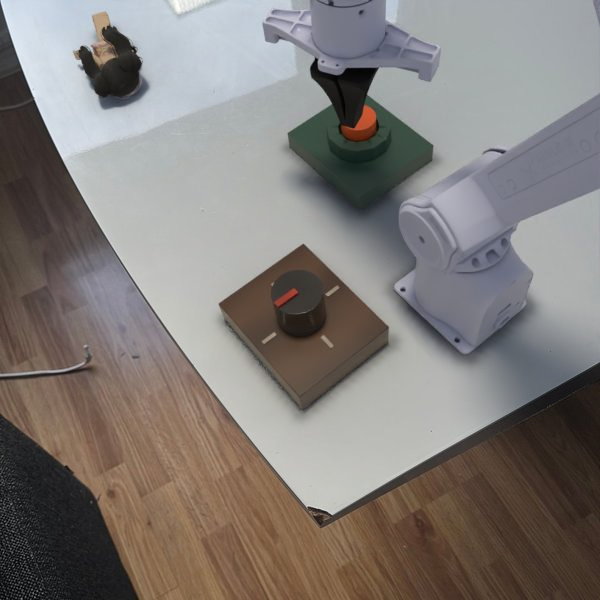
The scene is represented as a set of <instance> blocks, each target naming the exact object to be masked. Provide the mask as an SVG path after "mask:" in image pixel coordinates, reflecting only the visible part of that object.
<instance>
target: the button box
mask: <svg viewBox="0 0 600 600" xmlns="http://www.w3.org/2000/svg"><path fill="white" fill-rule="evenodd" d="M364 105H365V106H368V107H370V108H372V109H373V110H374V112H375V114H376V132H375V134H374V135H373V136H372V137H371V138H370V139H368V140H366V141H361V142H354V141H350V140H348V139H346V138H345V137H344V136H343V134H342V131H341V124H340V121H339V119H338V116H337V114H336V111H335V109H334V107H333V105H332V103H331V104H330V105H328V106H327V107H325V108H323V109H322V110H320V111H319V112H318V113H316V114H314V115H313V116H311V117H310V118H308V119H307V120H305V121H304V122H302V123H301V124H299V125H298V126H296V127H295V128H293V129H291V130H290V131H288V132H287V140H288V147H289V149H291V150H292V151H293V152H294V153H295V154H296V155H298V157H299V158H301V159H302V160H303V161H304V162H306V164H308V165H309V166H310V167H311V168H312V169H314V170H315V171H316V172H317V174H319V175H320V176H321V177H323V179H325V180H326V181H327V182H328V183H329V184H330V185H331V186H332V187H334V188H335V189H336V190H337V191H338V192H339V193H340V194H342V195H343V196H344V197H345V198H346V199H347V200H349V202H350V203H352V205H354V206H355V207H356V208H357V209H359V210H360V211H363V210H364V209H365V208H367V207H368V206H369V205H371V204H372V203H374V202H375V201H377V200H378V199H379V198H381V197H383V196H384V195H385V194H387V193H388V192H389V191H390V190H392V189H393V188H395V187H396V186H397V185H399V184H400V183H402V182H403V181H405V180H406V179H408V178H409V177H410V176H411V175H413V174H414V173H416V172H417V171H418V170H420V169H422V168H423V167H424V166H426V165H427V164H429V163H430V162H431V161H432V160H433V155H434V144H432V143H431V142H430V141H429V140H428V139H426V138H425V137H423V136H422V135H421V134H419V132H417V131H415V130H414V129H413V128H411V127H410V126H409V125H408V124H406V123H405V122H404V121H402V120H401V119H400V118H398V117H397V116H396V115H395V114H393V113H392V112H391V111H389V110H388V109H387V108H385V107H384V106H383V105H381V104H380V103H379V102H377V101H376V100H375V99H374V98H372V97H371V96H370V95H369V94H367V96H366V100H365V104H364Z"/></svg>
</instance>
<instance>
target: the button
mask: <svg viewBox="0 0 600 600" xmlns="http://www.w3.org/2000/svg"><path fill="white" fill-rule="evenodd" d="M341 131H342V134H343V136H344V137H345V138H346V139H348V140H350V141H354V142H361V141H366V140H368V139H370V138H371V137H372V136H373V135H374V134H375V132H376V114H375V112H374V110H373V109H372V108H370V107H368V106H365V105H364V109H363V115H362V116H361V118H360V120H359V122H358V123H357V125H356V127H355V128H354V129H353V128H349V127H346V126H342V125H341Z"/></svg>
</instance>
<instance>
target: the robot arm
mask: <svg viewBox="0 0 600 600" xmlns="http://www.w3.org/2000/svg"><path fill="white" fill-rule="evenodd" d="M308 1H309V9H284V8H279V7H278V8H277V7H272V8H271V9H270V11H269V12H268V13H267V15H266V16H265V18H264V19H263V20H262V22H261V24H262V30H263V36H264V41H265V42H266V43H270V44H277V43H279V42H280V40H281V41H285V42H289V43H291V44H293V45H294V46H296V47H297V48H300V49H301V50H302V51H304V52H306V53H308V54H309V55H311V56H312V57H314V60H313V61H312V63H311V64H310V67H309V74H310V78H311V79H312V80H313V81H314V82H316V84H317V85H318V86H319V87H320V88H321V89H322V90H323V92H324V94H326V96H327V98H328V99H329V101H330V103H331V104H332V105H333V107H334V109H335V111H336V114H337V116H338V119H339V121H340V124H341V125H342V126H346V127H349V128H353V129H354V128H355V127H356V125H357V123H358V122H359V120H360V118H361V116H362V115H363V109H364V104H365V100H366V96H367V95H368V93H369V90H370V88H371V85H372V83H373V81H374V78H375V76H376V74H377V73H378V70H379V69H380V68H396V69H400V70H404V71H408V72H411V73H416V74H418V76H417V77H418V79H419V80H420V81H423V82H428V83H431V82H432V81H433V78H434V77H435V75H436V73H437V71H438V69H439V67H440V61H441V52H442V46H441V45H438V44H435V43H431V42H428V41H426V40H423V39H421V38H419V37H417V36H415V35H414V34H412V33H410V32H408V31H407V30H404V29H403V28H401V27H399V26H397V25H396V24H394V23H392V22H390V21H388V20H387V19H386V16H387V15H386V14H387V0H308ZM592 3H593V7H594V11H595V14H596V18H597V22H598V25H599V27H600V0H592ZM598 190H600V92H599V93H597V94H595V95H594V96H592V97H591V98H589V99H588V100H586V101H585V102H583V103H581V104H580V105H578V106H577V107H575V108H573V109H572V110H570V111H569V112H567V113H566V114H564V115H562V116H561V117H559V118H557V119H556V120H554V121H553V122H551V123H550V124H548V125H546V126H545V127H543V128H542V129H540V130H539V131H537V132H535V133H533V134H532V135H530V136H528V138H526V139H524V140H523V141H520V142H519V143H518V144H515V145H513V146H507V145H501V144H497V145H496V144H495V145H491V146H490V147H489V148H487V149H485V150H483V151H482V153H481V155H479V156H478V157H476V158H475V159H473V160H472V161H470V162H468V163H467V164H465V165H463V166H462V167H460V168H459V169H456V170H455V171H454V172H453V173H451V174H449V175H448V176H446V177H445V178H443V179H442V180H439V181H438V182H437V183H435V184H433V185H432V186H430V187H429V188H427V189H426V190H424V191H423V192H421V193H419V194H418V195H416V196H415V197H411V198H408V199H405V200H404V201H403V202H402V203H401V205H400V206H399V210H398V227H399V230H400V233H401V237H402V238H403V240H404V242H405V244H406V245H407V247H408V248H409V250H410V251H411V253H412V254H413V255H414V256H415V258H416V260H415V261H416V263H415V267H414V269H412V270H411V271H410V272H408V273H406V275H404V276H403V277H402V278H401V279H399V280H398V281H396V282H395V283H394V285H393V290H394V291H395V292H396V294H397V295H399V296H400V297H401V298H402V299H403V300H404V301H405V302H406V303H407V304H408V305H409V306H411V308H412V309H414V310H415V311H416V312H417V313H418V314H419V315H420V316H421V317H422V318H423V319H424V320H425V321H427V323H428V324H429V325H431V327H432V328H434V329H435V330H436V331H437V332H438V333H439V334H440V335H441V336H442V337H443V338H444V339H446V341H448V343H449V344H451V345H452V346H453V347H454V348H455V349H456V350H457V351H459V353H460V354H462V355H469V354H470V353H472V352H473V351H475V349H476V348H477V347H479V346H480V345H481V344H483V343H484V342H485V341H486V340H487V339H488V338H490V337H491V336H492V335H493V334H494V333H496V332H497V331H498V330H500V329H501V328H502V327H504V325H506V324H507V323H508V322H509V321H510V320H511V319H512V318H514V317H515V316H516V315H517V314H519V313H520V312H522V310H523V309H525V308H526V306H527V300H526V297H527V294H528V291H529V289H530V286H531V284H532V281H533V278H534V271H533V270H532V269H531V268H530V267H529V266H528V265H527V264H526V262H524V261H523V259H521V257H520V255H519V254H518V253H517V251H516V250H515V248H514V246H513V243H512V241H511V238H512V235H513V234H514V233H515V232H516V231H517V229H518V225H519V224H520V222H522V221H524V220H527V219H529V218H532V217H535V216H537V215H539V214H541V213H544V212H547V211H550V210H552V209H554V208H556V207H558V206H562V205H565V204H566V203H569V202H571V201H573V200H576V199H579V198H581V197H583V196H586V195H588V194H591V193H594V192H596V191H598ZM402 290H404V291H402ZM455 340H457V341H459V342H457V341H455Z"/></svg>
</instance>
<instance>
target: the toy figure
mask: <svg viewBox="0 0 600 600" xmlns="http://www.w3.org/2000/svg"><path fill="white" fill-rule="evenodd" d="M91 19H92V22H93V25H94V26H93V27H94V29H95V32H96V37H97V41H98V42H95V43H92V44H91V45H90V47H91V49H92V50H91V49H90V47H88V46H87V45H85V44H83V45H80V47H79V49H77V50H75V49H73V50H72V53H73V56H74V57H75V60H77V61H81V66H82V69H83V70H84V73H85V75H86V76H87V77H89V78H90V79H91V80H92V81H91V84H92V86H93V90H94V93H95V94H96V95H98V98H100V99H104V98H108V97H109V96H112V97H115V98H118V99H122V100H125V99H128V98H130V97H131V96H132V95H134V94H135V93H136V92H138V90H140V88H141V86H142V82H143V81H142V76H141V74H140V70H141V69H142V65H143V58H142V57H141V56H139V55H138V54H137V52H138V50H139V49H138V47H136V46H135V45H134V44H133V42H131V39H130V38H129V37H128V36H126V35H125V34H124V33H122V32H120V31H119V30H118V28H117V27H116V26H115V25H112V24H111V20H110V18H109V14H108V12H107V11H102V12H101V11H100V12H98V13H94V14H92V15H91ZM92 51H93V52H92Z"/></svg>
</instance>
